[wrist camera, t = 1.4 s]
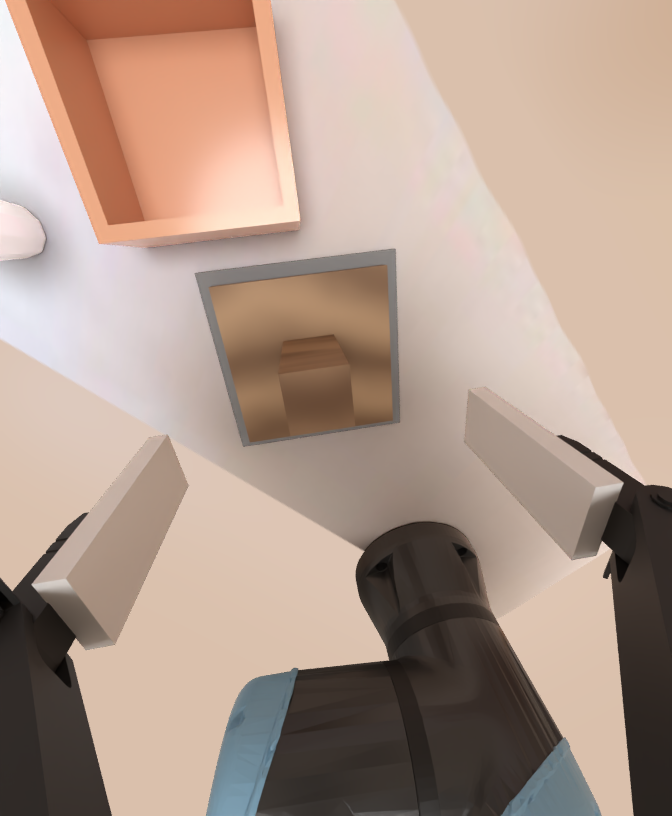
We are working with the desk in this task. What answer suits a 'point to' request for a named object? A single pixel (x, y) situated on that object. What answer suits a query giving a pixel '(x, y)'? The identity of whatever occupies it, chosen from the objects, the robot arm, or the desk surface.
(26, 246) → the milkshake
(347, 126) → the desk surface
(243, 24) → the open peach box
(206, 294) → the mat
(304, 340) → the lid
